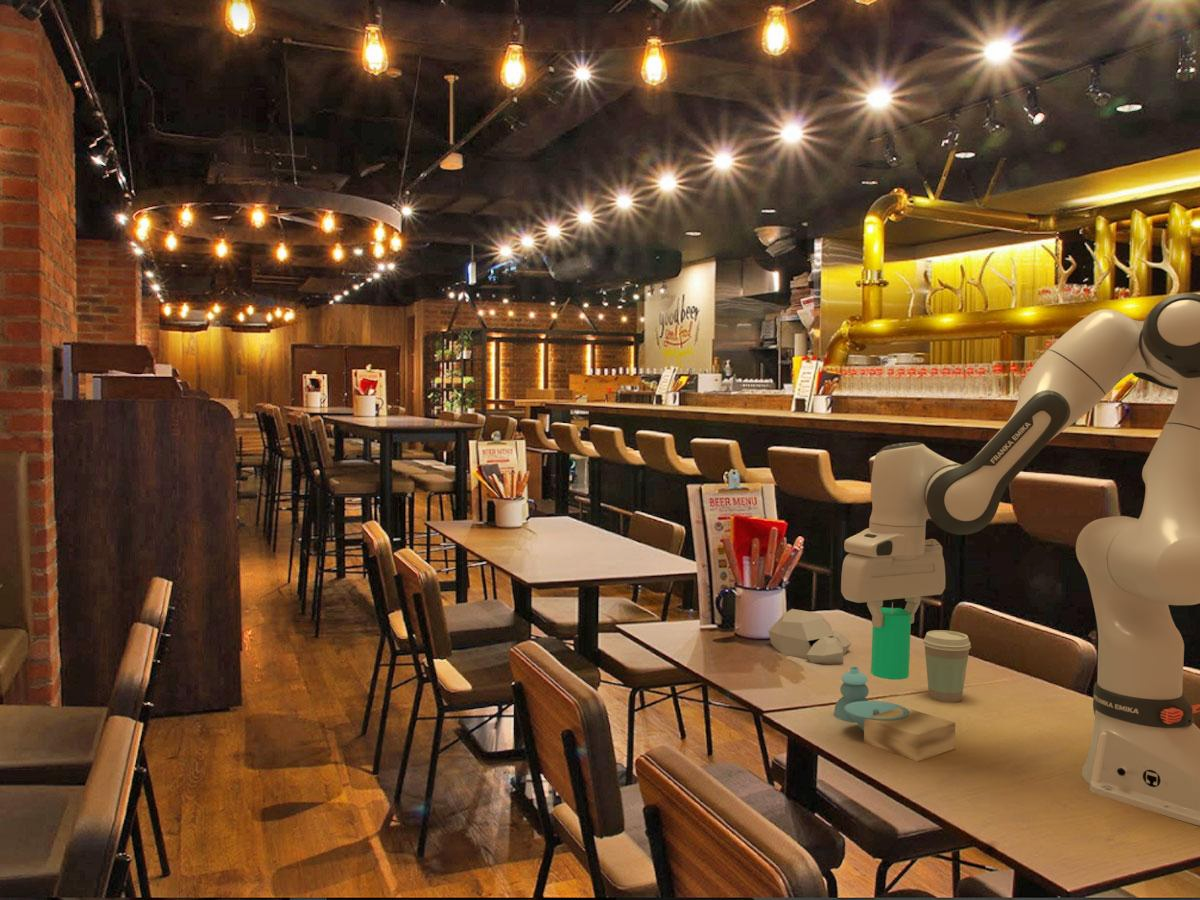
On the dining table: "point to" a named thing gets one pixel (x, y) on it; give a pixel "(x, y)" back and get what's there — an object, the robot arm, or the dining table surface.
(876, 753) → the dining table surface
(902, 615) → the candle
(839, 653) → the rock
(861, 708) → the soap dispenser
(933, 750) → the beech box
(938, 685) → the coffee cup
